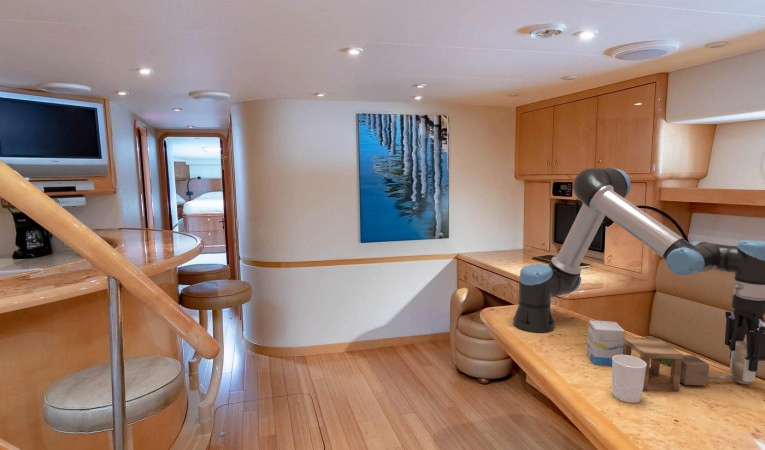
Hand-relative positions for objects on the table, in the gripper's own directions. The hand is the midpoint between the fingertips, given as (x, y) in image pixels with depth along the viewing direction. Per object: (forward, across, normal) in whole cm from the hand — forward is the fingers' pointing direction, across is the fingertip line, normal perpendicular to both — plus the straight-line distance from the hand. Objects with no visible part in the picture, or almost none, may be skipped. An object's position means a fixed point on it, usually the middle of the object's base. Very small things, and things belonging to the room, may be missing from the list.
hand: (741, 376), depth 120 cm
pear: (+2, -15, -13) cm, 20 cm away
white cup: (+2, +8, -36) cm, 37 cm away
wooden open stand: (+2, 0, -26) cm, 26 cm away
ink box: (+2, -14, -32) cm, 35 cm away
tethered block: (+1, 0, -8) cm, 8 cm away
